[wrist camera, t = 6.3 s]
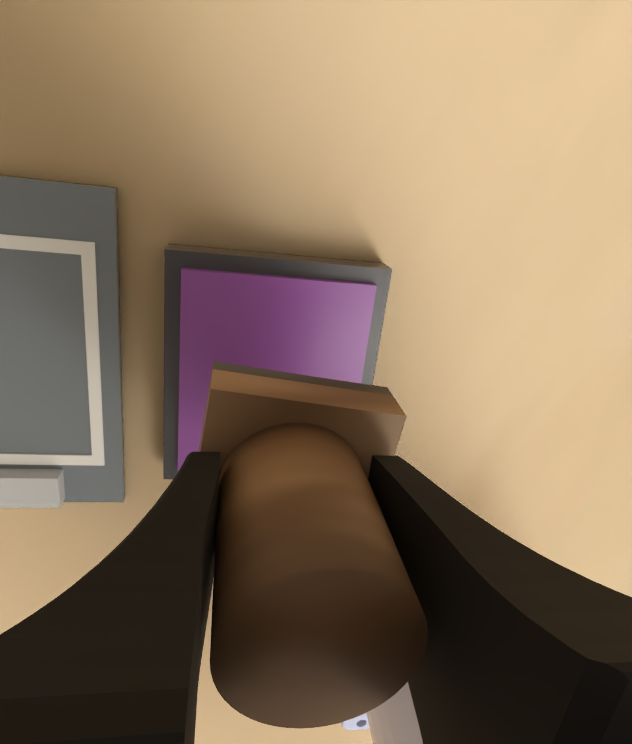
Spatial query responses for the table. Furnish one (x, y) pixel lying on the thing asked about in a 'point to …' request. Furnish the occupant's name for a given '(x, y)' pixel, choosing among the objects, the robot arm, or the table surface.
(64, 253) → the grey framed plate
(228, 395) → the stamp
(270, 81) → the table surface
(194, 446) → the ink pad
